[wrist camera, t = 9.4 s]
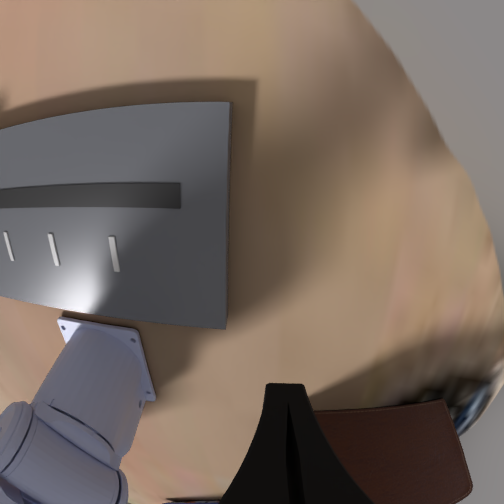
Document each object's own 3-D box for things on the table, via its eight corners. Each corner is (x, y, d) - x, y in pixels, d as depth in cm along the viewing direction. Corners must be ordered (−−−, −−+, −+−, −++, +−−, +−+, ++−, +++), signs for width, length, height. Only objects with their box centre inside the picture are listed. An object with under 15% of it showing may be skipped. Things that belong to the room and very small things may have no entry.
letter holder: (274, 408, 27) (276, 543, 14) (444, 395, 27) (482, 495, 14) (265, 450, 32) (263, 552, 19) (410, 438, 31) (432, 524, 19)
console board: (227, 315, 21) (225, 330, 20) (-38, 277, 22) (-46, 284, 20) (232, 102, 15) (229, 101, 14) (-66, 152, 15) (-77, 157, 14)
